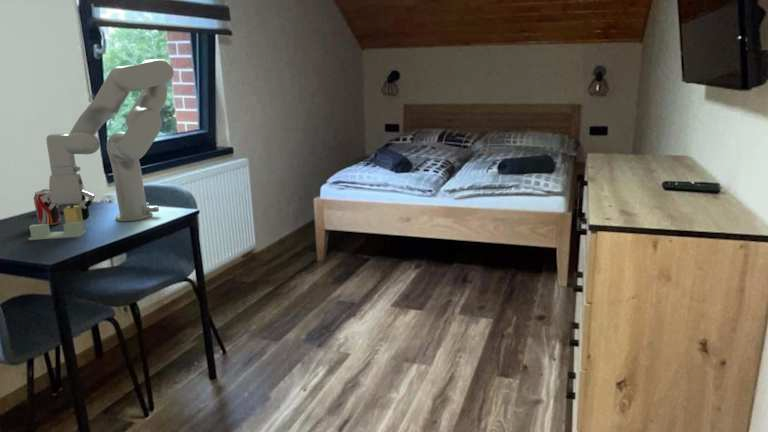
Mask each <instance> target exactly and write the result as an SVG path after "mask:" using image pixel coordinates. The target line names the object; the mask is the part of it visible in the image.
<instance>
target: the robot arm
mask: <svg viewBox="0 0 768 432" xmlns="http://www.w3.org/2000/svg"><path fill="white" fill-rule="evenodd" d="M174 72H175V71H174V68H173V66H172V64H171V63H170V62H169V61H167V60H165V59H162V58H161V59H160V58H158V59H157V58H156V59H147V60H145V61H142V63H137V64H131V65H123V66H115V67H114V68H112V69H111V70H110V71H109V73H108V75H107V77H106V78H105V80H104V81H103V83H102V84H101V86H100V89H99V90H98V92H97V93H96V95H95V97H94V98H93V100H92V101H91V102H90V104H89V105H87V107H86V109H85V110H84V111H83V113H81V115H80V116H79V117H78V119H77V121H76V122H75V124H74V125H73V127H72V129H70V132H69V133H52V134H49V135H47V136H46V139H45V140H46V147H47V152H48V158H49V166H50V167H49V168H50V172H51V174H50V175H49V180H48V181H49V182H48V185H49V186H48V190H49V191H50V192H49V193H47V194H45V195H43V196H42V197H40V199H41V200H42V201H43V202H44V205H46V206H47V207H48V208H49V209H50V210H51V216H52V218H53V221H56V220H58V219H59V213H60V211H59V212H58V208H59V207H58V208H56V206H57V205H58V206H59V205H68V204H73V205H75V204H76V205H78V206H81V212H82V218H83V221H86V220H88V219H89V217H90V211H89V208H90V206H91V205H92V203H94V200H95V197H96V196H95V194H94V193H91V192H88V191H86V189H85V186H84V182H83V179H82V176H81V174H80V173H78V172H80V171H81V167H80V166H77V164H76V157H75V155H92V154H95V153H96V152H98V150H99V149H100V147H101V145H100V144H101V143H100V139H99V137H97V136H96V134H97V133H98V131H99V130H100V129H101V127H102V126H103V125H105V123H107V122H108V121H110V120H111V119H113V118H114V117H115V116H116V115H117V114H118V113H119V111H120V110H121V108H122V106H123V105H124V103H125V101H126V99H127V98H128V96H129V94H130V92H136V91H140V90H142V91H141V93H140V95H139V96H138V98H137V100H136V101H135V102H134V104H133V106H132V108H131V109H129V111H128V113H127V115H126V116H125V125H126V126H125V127H127V130H126V131H117V132H114V133H112V134H110V136H109V137H108V138H107V141H106V151H107V155H108V158H109V161H110V165H111V170H112V177H113V182H114V186H115V187H114V188H115V194H116V199H117V206H118V212H119V213H118V214H117V215H115V220H116V221H118V222H135V221H141V220H145V219H147V218H150V217H152V216H153V213H157V212H159V211H160V209H159V208H160V207H159V206H158V205H152V206H151V205H150V203H149V202H147V200H146V193H145V188H144V187H145V186H144V181H143V173H142V168H141V163H140V159H142V157H144V156H145V155H146V153H147V152H148V150H149V149H150V147H151V146H152V144H153V143H154V141H155V140H156V138H157V137H158V135H159V133H160V132H161V130H162V127H163V119H162V115H161V114H160V113H161V111H162V109H163V108H164V106H165V104H166V101H167V100H168V99H167V97H168V89H167V88H168V87H167V83H169V82H171V81H172V79H173V77H174ZM48 197H50V199H51V202H52V203H51V202H49V201H48V199H47V198H48ZM87 199H88V200H87ZM86 200H87V201H86Z"/></svg>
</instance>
